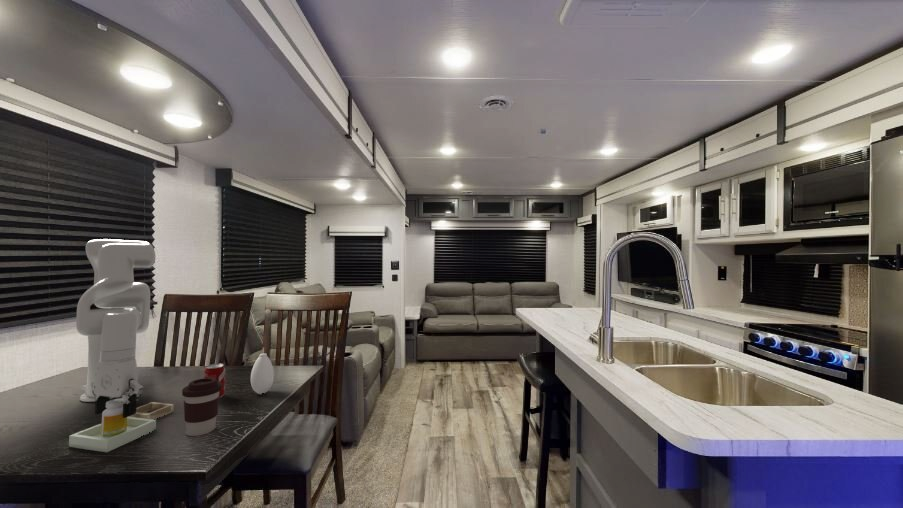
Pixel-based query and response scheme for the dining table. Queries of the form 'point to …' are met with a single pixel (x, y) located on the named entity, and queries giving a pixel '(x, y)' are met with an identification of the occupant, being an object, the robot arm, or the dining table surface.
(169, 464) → the dining table surface
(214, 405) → the coffee cup
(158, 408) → the socket collar
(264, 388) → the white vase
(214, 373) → the soda can
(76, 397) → the dining table surface
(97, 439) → the tray
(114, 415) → the supplement bottle
